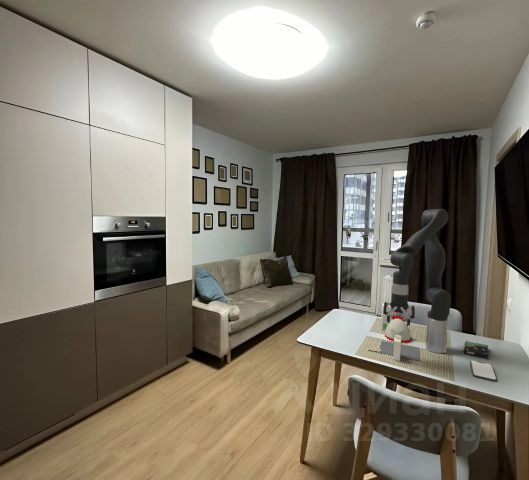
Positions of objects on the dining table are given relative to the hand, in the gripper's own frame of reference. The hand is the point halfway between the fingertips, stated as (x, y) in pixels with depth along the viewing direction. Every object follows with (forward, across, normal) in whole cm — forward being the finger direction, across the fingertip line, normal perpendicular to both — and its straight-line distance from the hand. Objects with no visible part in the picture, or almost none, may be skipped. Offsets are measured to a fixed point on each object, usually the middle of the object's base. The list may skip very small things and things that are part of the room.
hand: (398, 324), depth 146 cm
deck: (+17, 0, 0) cm, 17 cm away
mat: (+17, +2, -9) cm, 19 cm away
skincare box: (+17, +7, -40) cm, 44 cm away
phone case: (+18, -36, -4) cm, 40 cm away
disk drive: (+18, -37, -28) cm, 50 cm away
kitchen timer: (+17, +1, -27) cm, 32 cm away
